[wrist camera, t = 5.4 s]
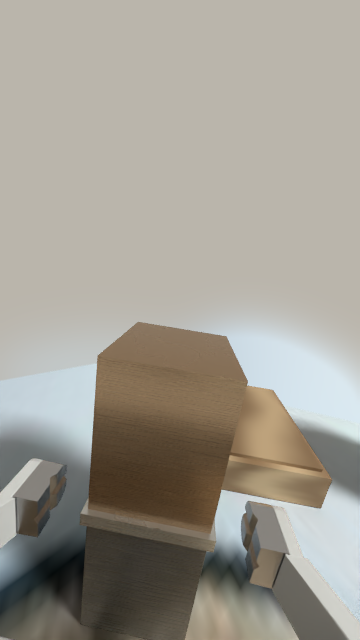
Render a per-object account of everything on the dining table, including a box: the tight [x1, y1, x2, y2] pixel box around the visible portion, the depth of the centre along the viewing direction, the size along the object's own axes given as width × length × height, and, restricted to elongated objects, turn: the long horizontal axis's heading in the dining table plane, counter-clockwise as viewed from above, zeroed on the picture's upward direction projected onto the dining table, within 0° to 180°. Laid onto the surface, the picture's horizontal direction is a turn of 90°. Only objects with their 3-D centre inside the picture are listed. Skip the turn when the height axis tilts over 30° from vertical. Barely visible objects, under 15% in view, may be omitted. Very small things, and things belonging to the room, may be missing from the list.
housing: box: [80, 322, 248, 640], centre depth 11 cm, size 5×5×14 cm
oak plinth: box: [222, 386, 332, 508], centre depth 23 cm, size 13×13×3 cm
